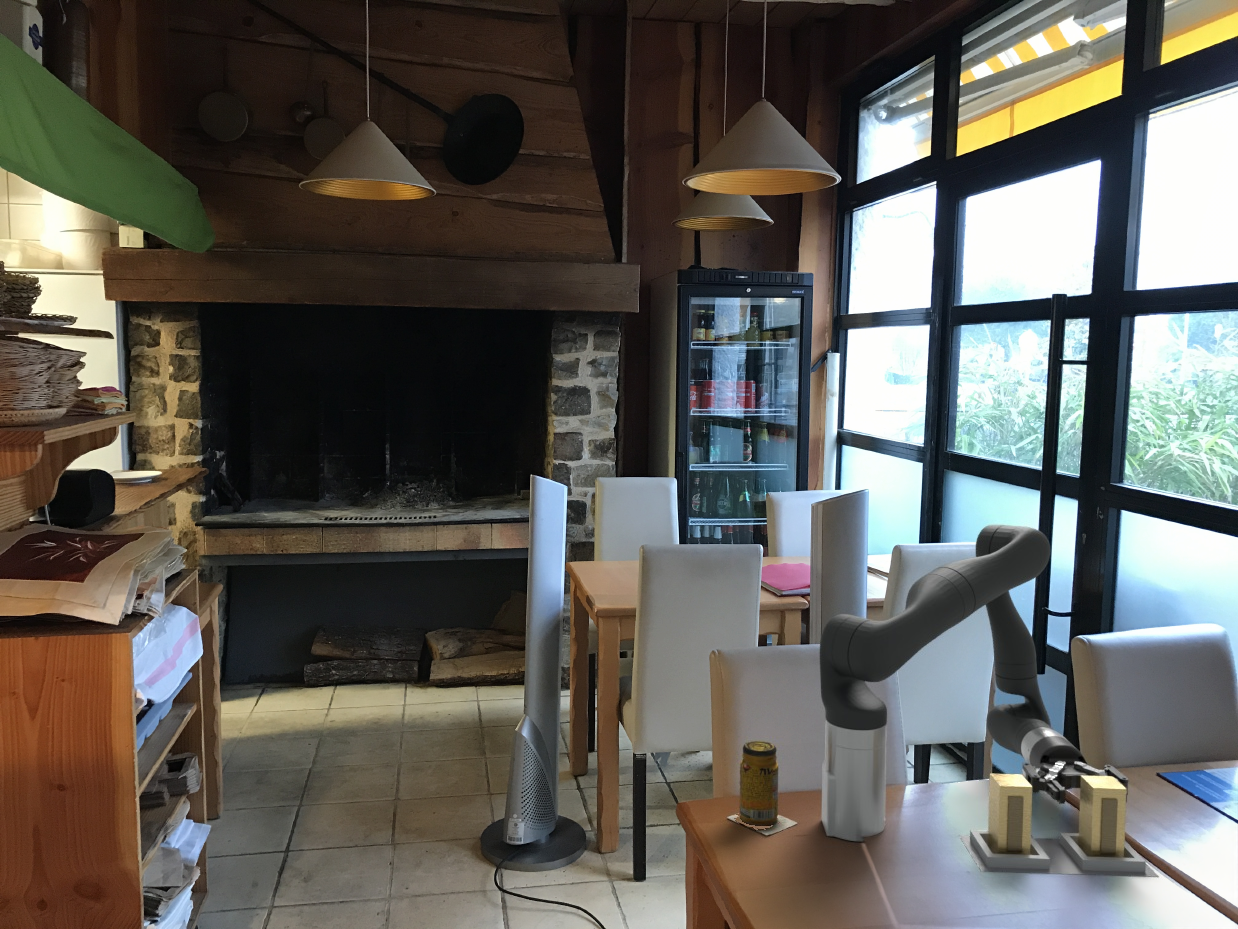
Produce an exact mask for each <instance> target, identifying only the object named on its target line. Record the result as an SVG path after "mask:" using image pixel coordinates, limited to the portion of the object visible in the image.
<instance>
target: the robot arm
mask: <svg viewBox="0 0 1238 929" xmlns="http://www.w3.org/2000/svg"><path fill="white" fill-rule="evenodd" d="M1050 556H1051V544H1050V541H1049V539H1048V537H1047V536H1046V535H1045V534H1044V533H1043V532H1042V531H1041V530H1039V529H1036V528H1033V527H1030V526H1021V525H1009V524H988V525H986V526H985V527H983V528H982V529H981V530H980V532H979V534H978V535H977V538H976V542H975V557H970V558H966V559H965V558H964V559H960V560H956V561H953V562H949V563H946V564H943V565H941V566H939V567H937V568H934V569H933V570H931V571H930V572H928V573H926V574H925V575H923V576H921V577H920V578H919V579H917V580H916V581H915V582H914V583H913V584H912V585H911V587H910V589H908V592H907V596H906V601H905V607H904V608H905V609H904V610H903V611H902V612H899V613H897V614H896V615H894V616H893V617H891V618H889V619H886V620H885V619H884V620H876V619H875V620H874V619H871V618H869V619H868V618H865V617H861V616H858V615H857V616H856V615H853V614H848V613H846V614H845V613H840V614H837V615H834V616H832V617H831V618H830V619H829V620H828V621H827V623H826V624H825V626H824V628H823V630H822V633H821V637H820V642H819V673H820V674H819V676H820V677H819V678H820V698H821V701H822V704H823V707H824V710H825V711H824V712H825V713H824V714H825V727H824V735H825V736H824V760H823V761H822V764H821V765H822V766H821V767H822V768H821V776H822V777H821V822H822V825H823V828H824V831H825V835H826V836H827V837H835V838H838V839H842V840H845V841H851V842H852V841H853V842H865V838H864V837H871V836H872V837H873V836H875V835H879V834H881V833H882V832H883V831H885V827H886V792H887V791H886V790H887V789H886V787H887V786H886V782H887V779H886V777H887V773H886V772H887V737H888V736H887V734H888V733H887V732H888V707H887V705H886V704H885V702H884V700H882V699H881V698H880V697H879V696H877V695H876V694H875V693H874V692H873V690H871V688H870V687H869V686H868V685H867V683H880V682H883V681H885V680H887V679H888V678H890V677H891V676H892V675H895V673H896V672H898V670H900V669H901V668H902V667H904V665H905V664H906V663H907V662H908V661H910V660H911V659H912V658H913V657H914V656H915V655H916V654H917V653H919V652H920V651H921V650H922V649H924V647H926V646H927V645H928V644H930V643H932V642H933V641H934V640H936V639H937V638H938V637H940V636H941V635H943V634H944V633H945V632H947V631H949V630H950V629H952V628H953V627H955V626H957V625H959V624H960V623H961V622H963V621H964V620H966V619H967V618H968V617H970V616H972V614H974V613H975V612H977V611H978V610H980V609H982V608H983V607H984V606H985V609H986V611H987V612H986V613H987V617H988V620H989V626H990V631H991V637H992V646H993V647H992V648H993V664H994V679H995V680H994V681H995V685H996V688H997V689H998V690H999V691H1001V692H1002V693H1004V694H1010V695H1013V696H1014V695H1015V696H1020V697H1023V698H1024V702H1022V703H1021V702H1020V703H1006V704H1005V703H1004V704H997V705H994V706H993V707H992V708H991V709H990V710H989V711H988V713H987V716H986V729H987V730H988V733H989V736H991V738H992V739H993V741H994V742H995V743H996V744H997V745H999V746H1000V747H1001V748H1004V749H1005V750H1008V751H1010V752H1012V753H1015V754H1017V755H1020V756H1021V757H1022V758H1023V759H1024V761H1025V762H1022V769H1021V771H1022V773H1021V774H1022V776H1023V777H1024V778H1025V779H1026V780H1027V781H1028V782H1029V784H1030V785H1031V786H1032V793H1034V794H1038V793H1040V792H1041V791H1042V792H1044V794H1045V795H1047V796H1049V797H1050V798H1051V799H1052V800H1054V801H1056V802H1057V803H1058V804H1060V805H1065V804H1066V791H1069V790H1071V789H1076V790H1079V791H1080V784H1081V776H1113V777H1114V778H1115V779H1116V780H1117V781H1118V782H1119V783H1121V784H1122V785H1123V786H1124V787H1125V788H1126V804H1127V802H1128V795H1129V777H1127V776H1126V775H1124V774H1123V773H1122V772H1120V771H1119V770H1118V769H1117V768H1116V767H1114V766H1113V765H1110V764H1105V765H1104V766H1103V768H1104V769H1097V768H1096V767H1094V766H1092V765H1089V764H1088V762H1087V761H1086V759H1085V757H1084V755H1083V754H1082V752H1081V751H1080V750H1079V749H1078V748H1077V747H1075V746H1074V745H1073V744H1072V743H1071V742H1070V741H1069V740H1068V739H1067V738H1066V737H1065V736H1063V735H1062V734H1061V733H1059V732H1058V731H1056V730H1055V729H1054V728H1053V727H1052V723H1051V719H1050V716H1049V712H1048V711H1047V709H1046V707H1045V706H1046V705H1045V703H1044V701H1043V697H1042V694H1041V692H1040V691H1041V690H1040V686H1039V681H1038V670H1037V669H1038V668H1037V653H1036V645H1035V642H1034V639H1033V636H1032V635H1031V633H1030V631H1029V629H1028V627H1027V626H1026V624H1025V622H1024V619H1022V617H1021V615H1020V613H1019V611H1018V610H1017V608H1016V606H1015V604H1014V601H1013V599H1012V597H1011V593H1010V591H1011V590H1013V589H1015V588H1017V587H1019V586H1022V585H1023V584H1026V583H1027V582H1030V581H1032V580H1034V579H1036V578H1037V577H1038V576H1040V575H1041V573H1042V572H1043V571H1044V570H1045V568H1046V566H1047V565H1048V563H1049V559H1050ZM866 682H867V683H866Z"/></svg>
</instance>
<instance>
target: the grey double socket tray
mask: <svg viewBox="0 0 1238 929" xmlns="http://www.w3.org/2000/svg"><path fill="white" fill-rule="evenodd" d="M969 832H970V833H969V835H959V838H960V840H961V842H962V843H963V845H964V846H965V848H966V850H967V852H968V853H969V855H970V856H971V858H972V859H973V861H974V862H975V864H976V865H977V868H978V869H979V870H980V872H982V873H987V872H988V873H1012V874H1013V873H1014V874H1015V873H1016V874H1047V875H1049V874H1050V875H1078V876H1079V875H1080V876H1081V875H1082V876H1109V877H1139V878H1140V877H1143V878H1146V877H1147V878H1159V877H1160V876H1159V875H1158V874H1157V873H1156V872H1155V871H1154V870H1153V869H1152V868H1151V867H1150V866H1149V865H1148V864H1147V862H1146V860H1145V859H1144V858H1143V857H1142V856H1141V855H1140V854H1139V853H1138V852H1137V851H1136V850H1135V849H1134V848H1133V847H1132V846H1131V845H1130V844H1129V843H1128V842H1127V841H1126V840H1125V841H1124V858H1116V857H1087V856H1086V854H1085V853H1084V852H1083V851H1082V850H1081V849H1080V848H1079V846H1078V841H1079V832H1059V838H1050V837H1049V838H1048V837H1047V838H1046V837H1043V838H1041V837H1033V835H1032V834H1031V844H1030V855H1015V854H993V853H992V852H991V850H990V849H989V847H988V830H977V829H975V830H974V829H971V830H969Z"/></svg>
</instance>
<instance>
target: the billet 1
mask: <svg viewBox="0 0 1238 929" xmlns="http://www.w3.org/2000/svg"><path fill="white" fill-rule="evenodd" d="M988 792H989V795H988V827H987V831H988V847H989V849H990V850H991V852H992V853H993V854H1015V855H1030V844H1031V835H1032V812H1033V811H1032V809H1033V808H1032V807H1033V806H1032V804H1033V792H1032V786H1031V785H1030V784H1029V782H1028V781H1027V780H1026V779H1025V778H1024V777H1023V776H1022V773H1021V774H1020V773H989V790H988Z"/></svg>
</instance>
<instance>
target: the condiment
mask: <svg viewBox="0 0 1238 929" xmlns="http://www.w3.org/2000/svg"><path fill="white" fill-rule="evenodd" d="M777 750H778V749H777V747H776V745H775V744H773V743H771V742H768V741H763V740H753V741H748V742H745V744H743V746H742V760H741V761H740V764H739V807H738V808H739V813H740V819H741V820H742V822H744V823H746V824H749V825H755V826H771V825H773V826H772V827H770V828H765V829H766V830H764V829H758V830H756V832H757V833H762V834H763V835H765V836H769V835H774V834H776V833H779V832H781V831H783V830H787V828H790V827H793V826H795V825H797V824H798V822H796V821H795V820H791V819H789V818H788V817H785V816H783V815H781V814H779V812H778V811H779V763H778V762H777V757H778V756H777ZM736 814H737V813H735V814H732V815H730V816H727V817H726V818H727V819H729V820H731V821H733V822H734V823H737V824H739V823H738V822H736V821H735V820H736V819H734V818H737V817H739V816H738V815H736ZM777 818H778V819H777ZM737 821H739V820H737ZM778 821H779V822H780V823H779V822H778ZM778 823H779V824H778ZM748 828H750V829H751V830H753V831H755V830H754V828H753V827H748Z"/></svg>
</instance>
